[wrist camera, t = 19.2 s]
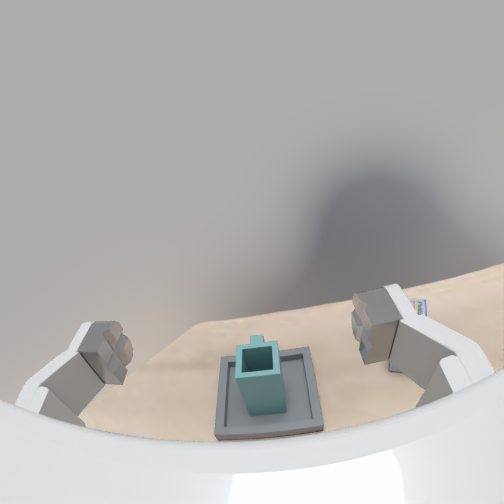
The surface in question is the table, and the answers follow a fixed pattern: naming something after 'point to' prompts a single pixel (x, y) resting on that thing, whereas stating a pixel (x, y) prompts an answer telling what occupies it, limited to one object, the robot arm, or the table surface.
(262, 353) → the tabbed sleeve
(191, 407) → the table surface
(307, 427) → the tray
